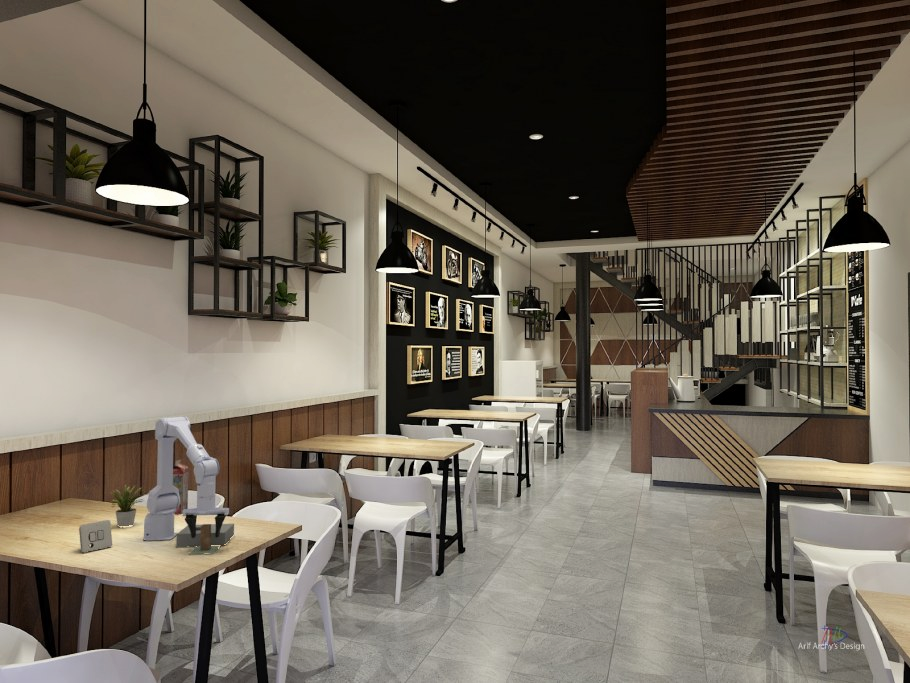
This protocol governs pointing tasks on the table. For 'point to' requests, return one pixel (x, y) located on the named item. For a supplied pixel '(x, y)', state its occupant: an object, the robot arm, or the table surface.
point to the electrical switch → (95, 535)
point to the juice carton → (181, 485)
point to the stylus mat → (197, 551)
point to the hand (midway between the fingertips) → (205, 536)
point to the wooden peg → (205, 537)
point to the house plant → (126, 506)
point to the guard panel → (186, 539)
